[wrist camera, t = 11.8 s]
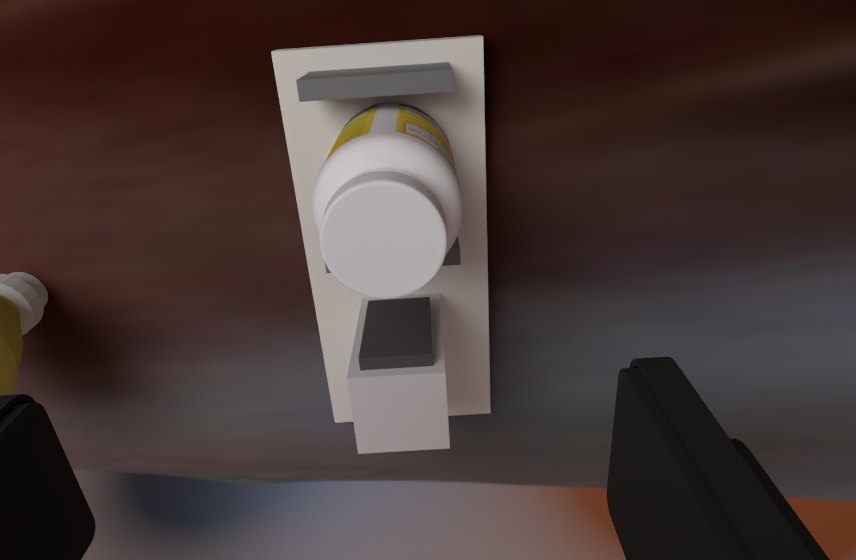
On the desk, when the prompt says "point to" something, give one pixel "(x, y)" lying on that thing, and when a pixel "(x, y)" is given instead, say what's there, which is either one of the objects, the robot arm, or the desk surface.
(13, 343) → the light bulb
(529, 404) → the desk surface
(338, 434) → the desk surface
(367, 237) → the supplement bottle
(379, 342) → the white rack stand
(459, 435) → the desk surface
